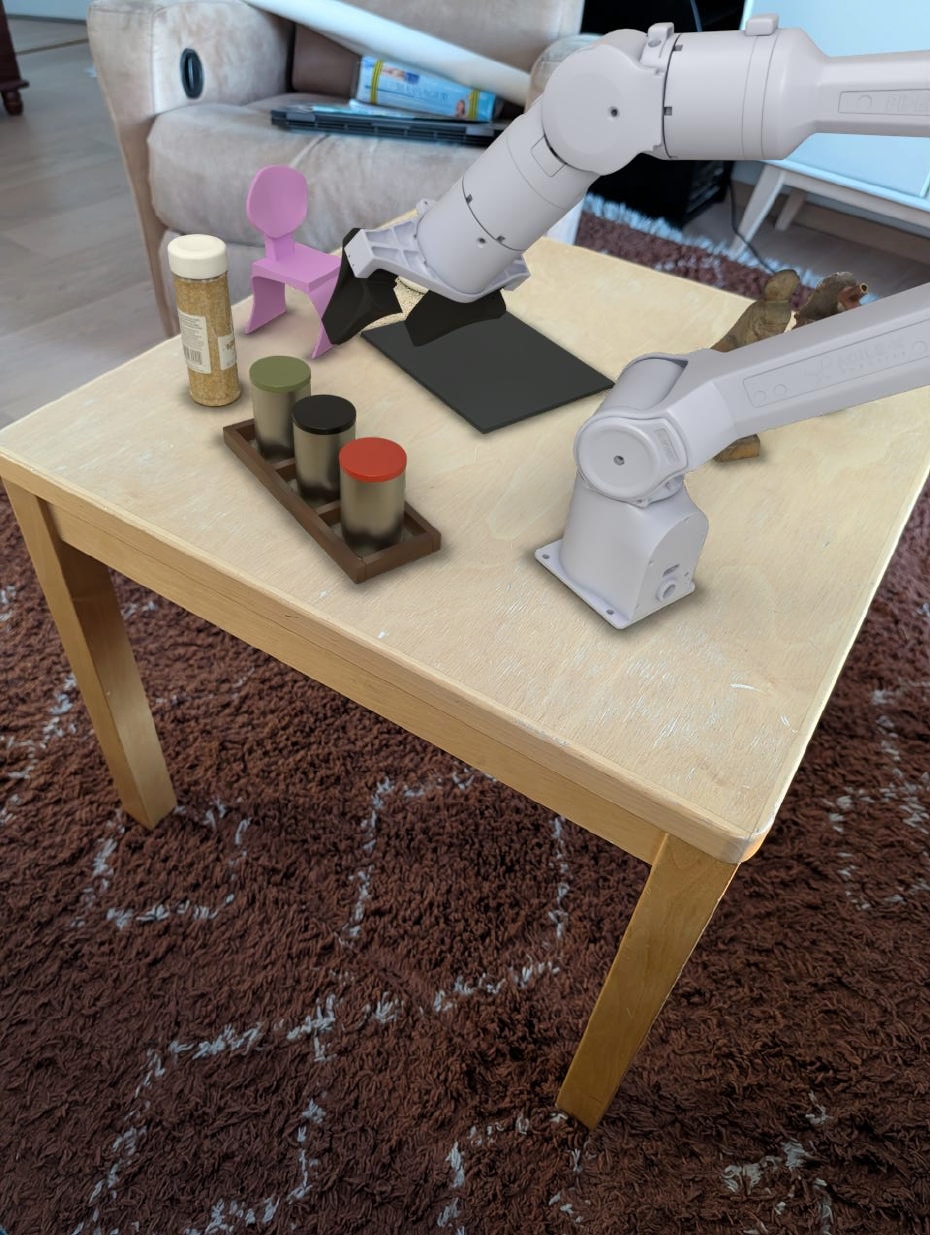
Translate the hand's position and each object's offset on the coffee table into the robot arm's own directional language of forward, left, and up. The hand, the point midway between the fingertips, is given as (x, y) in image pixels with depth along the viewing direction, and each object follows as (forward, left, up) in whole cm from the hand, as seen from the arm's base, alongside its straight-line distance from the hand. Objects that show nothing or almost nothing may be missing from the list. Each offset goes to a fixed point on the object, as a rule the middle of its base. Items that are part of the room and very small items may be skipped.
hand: (372, 333), depth 65 cm
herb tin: (+7, +4, -13) cm, 15 cm away
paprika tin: (-6, +4, -13) cm, 15 cm away
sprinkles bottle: (+18, +5, -13) cm, 23 cm away
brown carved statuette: (-8, -31, -13) cm, 35 cm away
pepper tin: (+1, +4, -13) cm, 14 cm away
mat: (+11, -20, -13) cm, 27 cm away
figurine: (-9, -44, -13) cm, 47 cm away
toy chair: (+24, -7, -13) cm, 29 cm away
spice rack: (+1, +4, -13) cm, 14 cm away
